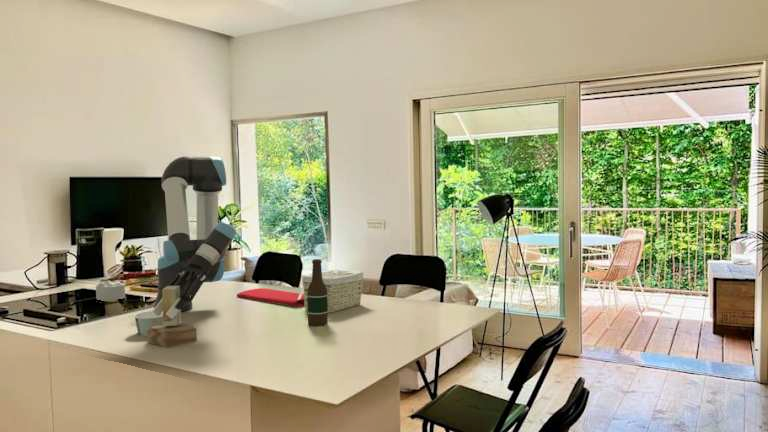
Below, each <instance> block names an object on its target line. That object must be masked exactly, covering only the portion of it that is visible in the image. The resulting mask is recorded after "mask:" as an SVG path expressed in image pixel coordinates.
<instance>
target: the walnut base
mask: <svg viewBox="0 0 768 432" xmlns="http://www.w3.org/2000/svg"><path fill="white" fill-rule="evenodd" d="M197 330H198V329H197V328H196V327H195V325H193V324H189V323H184V322H182V321H181V322H180V323H179V324H177V325H176V326H163V325H158V326H153V327H150V330H148V336H147V343H148V344H149V343H150V344H153V345H156V346H160V347H164V348H166V349H167V348H171V347H175V346H179V345H183V344H187V343H191V342H195V341H198V334H197Z"/></svg>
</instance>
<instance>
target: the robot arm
mask: <svg viewBox="0 0 768 432" xmlns="http://www.w3.org/2000/svg"><path fill="white" fill-rule="evenodd" d="M225 167H226V166H225V163H224V161H223V159H222V158H220V157H216V156H180V157H177V158H175V159H174V160H172V161H171V162H169V164H168V165H167V166H166V167H165V169H164V170H163V172H162V176H161V189H162V190H163V192H164V196H165V198H164V199H165V211H166V222H167V223H166V224H167V225H166V227H167V239H168V240H164V241H163V243H162V246H163V247H162V248H163V249H162V251H163V253H162V254H163V256H160V257H159V258H157V268H156V270H157V295H156V298H155V302H154V305H153V309H152V311H153V312H154V313H155V314H156V315H157V316H159V315H160V314H161V313H162V311H163V302H162V289H163V288H165V287H167V286H180V296H179V297H180V298H177V300H176V301H175V302H174V304H173V305H172V306H171V308H170V309H169V310H168V312H167V313H166V315H167V316H168V317H170V318H171V319H173V318H174V316H175V315H176V314H177V312H178V311H179V310H180V309H181V313H182V312H187V311H190V310H192V309H193V302H192V301H193V299H194V298H195V297H196V295H197V294H198V292H199V291H200V288H201V287H202V285H203V284H204V283H213V282H214V283H215V282H219V281H221V280H222V279H223V277H224V273H225V267H226V263H225V262H226V258H225V257H226V254H227V252H228V249H229V246H230V244H231V243H232V241H234V238H235V237H236V236H237V230H236V229H235V228H234V227H233V226H232V224H230V223H228V222H224V221H220V222H219V194H220V193H221V192H222V191H223V187H225V186H226V185H227V174H226V168H225ZM188 186H189V187H190V186H192V191H193V192H194V193H196V235H195V237H196V239H191V234H190V226H189V225H190V223H189V214H188V213H189V212H188V204H187V201H188V200H187V192H186V190H187V188H188Z"/></svg>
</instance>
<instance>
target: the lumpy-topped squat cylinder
mask: <svg viewBox="0 0 768 432" xmlns="http://www.w3.org/2000/svg"><path fill="white" fill-rule="evenodd" d="M95 295H96V296H95V297H96V299H97V300H101V301H113V300H117V299H123V298H125V299H126V284H125V283H122V282H121V281H120V280H114V281H111V280H106V281H100V282H99V283H97V284H95Z"/></svg>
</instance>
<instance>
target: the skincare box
mask: <svg viewBox="0 0 768 432" xmlns="http://www.w3.org/2000/svg"><path fill="white" fill-rule="evenodd" d="M179 296H180V286H167V287H165V288H163V289H162V302H163V326H176V325H177V324H179V323H180V322H181V323H182V312H181V309H180V310H179V311H178V312H177V314H176V315H175V316H174V318H173V319H171V318H170V317H168V316H167V315H166V313H167V312H168V310H169V309H170V308H171V306H172V305H173V304H174V302H175V301H176V300H177V298H180V297H179Z"/></svg>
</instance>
